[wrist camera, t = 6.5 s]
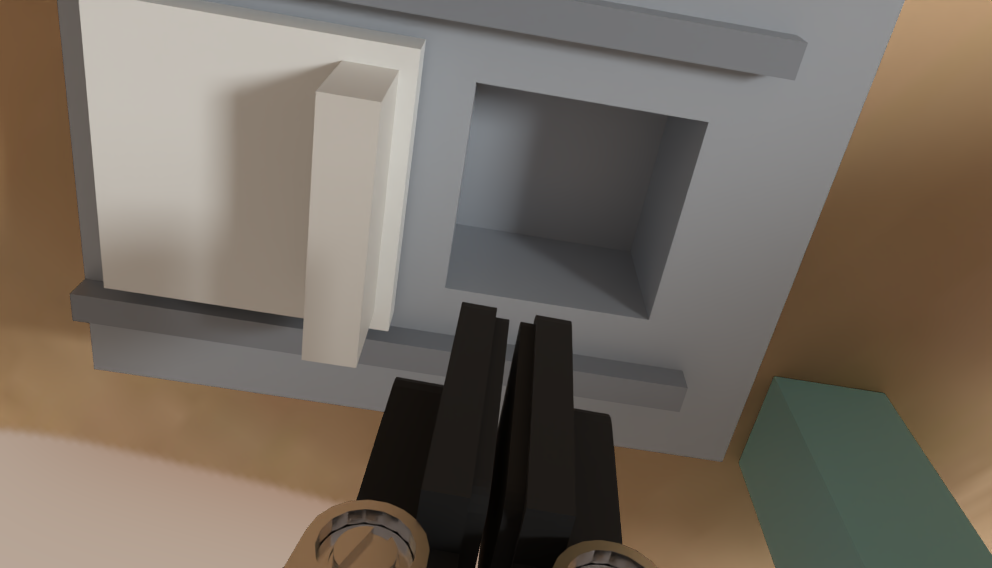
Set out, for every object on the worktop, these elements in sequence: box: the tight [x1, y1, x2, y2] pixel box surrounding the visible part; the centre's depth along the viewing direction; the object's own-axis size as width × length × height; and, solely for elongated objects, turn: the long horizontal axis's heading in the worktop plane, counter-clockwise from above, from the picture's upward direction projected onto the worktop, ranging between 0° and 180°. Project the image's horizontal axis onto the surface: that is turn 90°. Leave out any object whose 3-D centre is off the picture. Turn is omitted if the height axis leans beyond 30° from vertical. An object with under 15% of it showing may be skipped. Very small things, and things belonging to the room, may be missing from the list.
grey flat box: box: [57, 0, 905, 462], centre depth 21 cm, size 18×14×6 cm
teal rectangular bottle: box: [739, 376, 992, 568], centre depth 23 cm, size 4×4×12 cm
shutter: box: [79, 0, 426, 368], centre depth 17 cm, size 7×7×3 cm
